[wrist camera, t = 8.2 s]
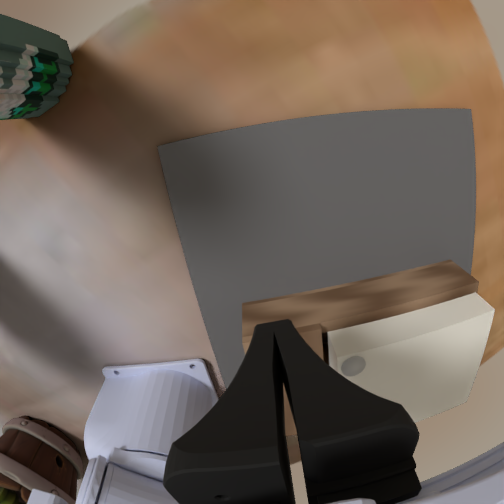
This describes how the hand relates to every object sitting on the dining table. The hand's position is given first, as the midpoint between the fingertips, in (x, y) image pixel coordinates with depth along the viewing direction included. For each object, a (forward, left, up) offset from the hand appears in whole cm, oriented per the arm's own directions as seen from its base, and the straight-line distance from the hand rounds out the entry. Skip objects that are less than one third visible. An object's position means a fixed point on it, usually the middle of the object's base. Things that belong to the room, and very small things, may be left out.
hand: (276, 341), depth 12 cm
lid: (+8, -9, -5) cm, 13 cm away
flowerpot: (-32, -21, -10) cm, 40 cm away
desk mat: (+6, -3, -10) cm, 12 cm away
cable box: (+6, -8, -10) cm, 14 cm away
